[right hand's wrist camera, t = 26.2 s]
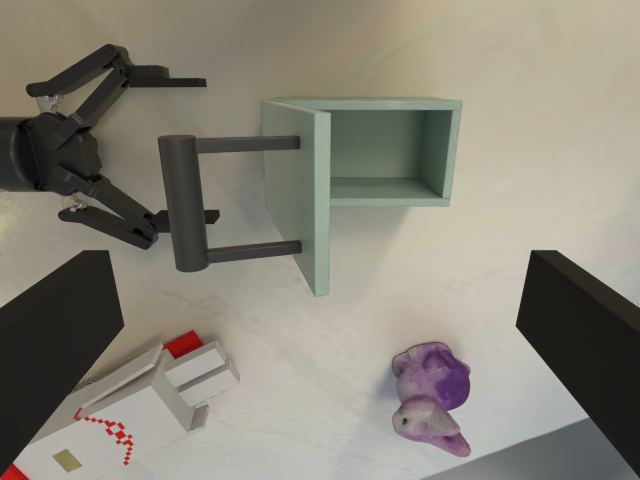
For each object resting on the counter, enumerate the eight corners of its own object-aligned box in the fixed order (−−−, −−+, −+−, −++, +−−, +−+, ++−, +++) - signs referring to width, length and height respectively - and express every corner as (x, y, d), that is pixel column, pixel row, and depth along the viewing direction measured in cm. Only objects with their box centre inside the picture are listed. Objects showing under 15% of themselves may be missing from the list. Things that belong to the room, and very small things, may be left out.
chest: (431, 97, 45) (462, 100, 35) (423, 182, 49) (449, 206, 39) (277, 97, 45) (266, 100, 35) (280, 182, 49) (270, 206, 39)
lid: (331, 112, 19) (145, 115, 17) (329, 295, 22) (176, 316, 20) (270, 100, 35) (172, 101, 33) (274, 207, 38) (186, 214, 36)
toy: (246, 422, 50) (37, 523, 51) (251, 360, 63) (84, 442, 63) (196, 349, 46) (-30, 460, 47) (211, 299, 59) (34, 387, 59)
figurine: (375, 372, 59) (392, 461, 45) (423, 326, 56) (458, 406, 42) (421, 403, 61) (451, 497, 47) (469, 360, 58) (517, 447, 44)
